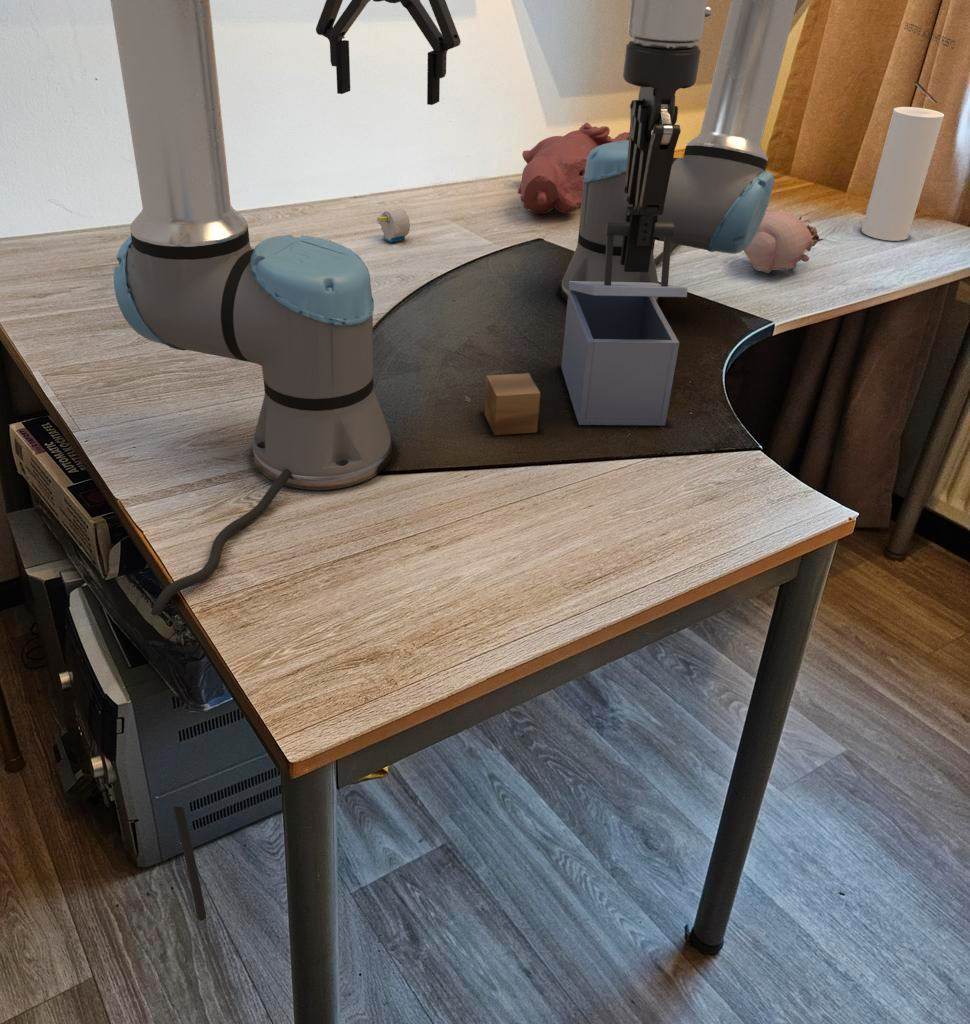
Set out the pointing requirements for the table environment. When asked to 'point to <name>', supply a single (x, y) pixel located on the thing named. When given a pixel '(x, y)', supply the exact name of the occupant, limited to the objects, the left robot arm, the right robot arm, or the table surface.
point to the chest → (618, 359)
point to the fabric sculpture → (560, 169)
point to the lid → (632, 287)
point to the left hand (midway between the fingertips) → (388, 97)
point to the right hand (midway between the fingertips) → (634, 267)
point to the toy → (781, 242)
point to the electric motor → (394, 225)
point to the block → (512, 404)
